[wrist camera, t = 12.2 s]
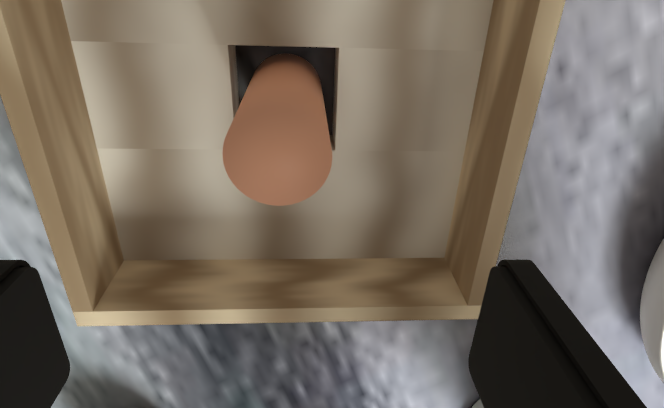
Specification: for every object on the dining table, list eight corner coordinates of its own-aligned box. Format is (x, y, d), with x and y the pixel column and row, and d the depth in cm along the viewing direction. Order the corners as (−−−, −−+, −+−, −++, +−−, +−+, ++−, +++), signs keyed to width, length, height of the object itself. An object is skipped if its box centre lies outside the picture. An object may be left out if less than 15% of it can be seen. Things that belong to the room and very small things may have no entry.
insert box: (521, -145, 20) (616, -194, 14) (445, 248, 31) (481, 318, 25) (24, -173, 19) (-112, -241, 13) (124, 250, 29) (77, 326, 23)
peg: (322, 54, 24) (334, 105, 15) (320, 124, 26) (330, 205, 17) (248, 52, 24) (217, 103, 15) (252, 123, 26) (227, 205, 17)
